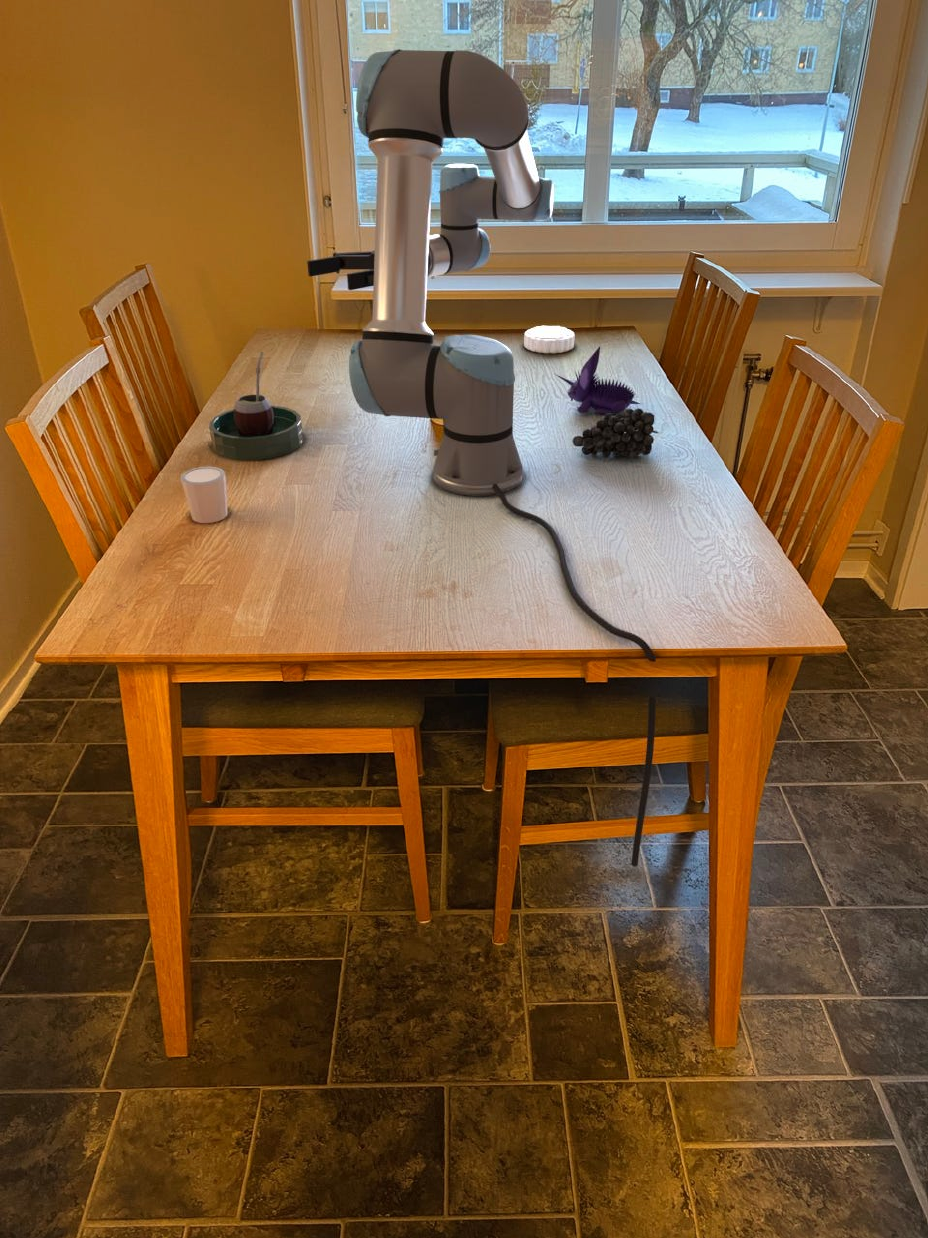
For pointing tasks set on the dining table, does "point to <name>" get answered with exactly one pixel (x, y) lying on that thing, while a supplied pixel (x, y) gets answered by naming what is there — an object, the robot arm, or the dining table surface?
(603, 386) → the creature
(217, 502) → the white cylinder
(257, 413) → the mate gourd
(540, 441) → the dining table surface
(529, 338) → the white lid
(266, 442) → the green round tray
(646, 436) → the fruit
